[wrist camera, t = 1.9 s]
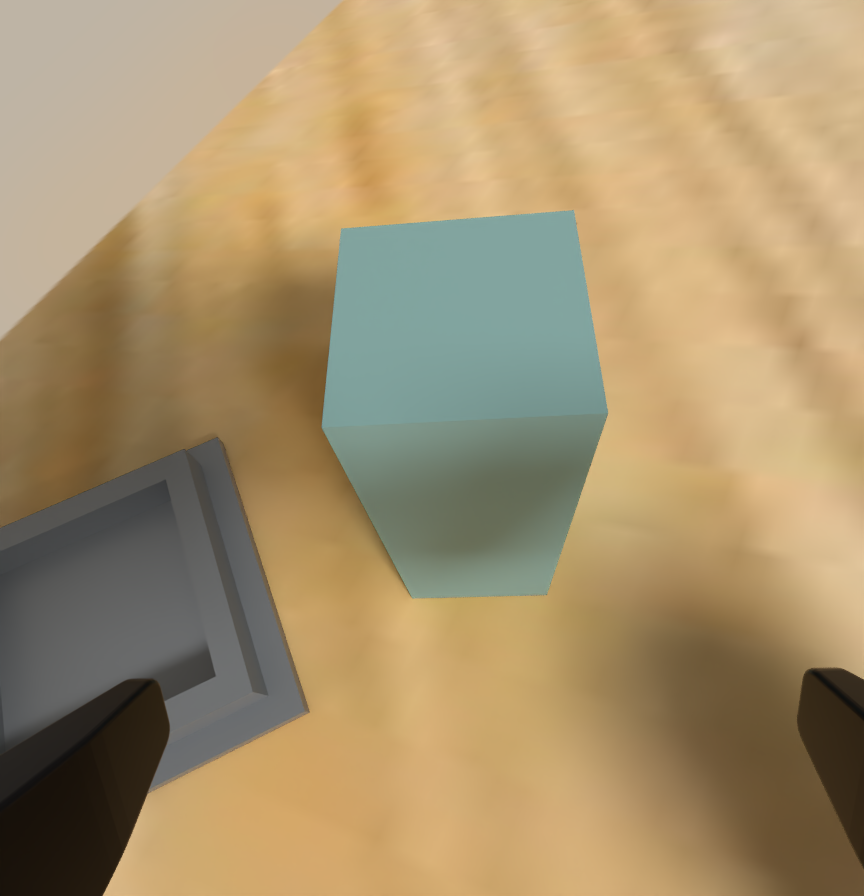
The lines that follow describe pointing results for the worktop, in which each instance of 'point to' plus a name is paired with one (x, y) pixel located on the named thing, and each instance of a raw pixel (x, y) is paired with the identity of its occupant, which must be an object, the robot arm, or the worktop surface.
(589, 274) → the worktop surface
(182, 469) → the socket holder
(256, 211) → the worktop surface
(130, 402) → the worktop surface
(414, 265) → the teal block
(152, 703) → the robot arm
